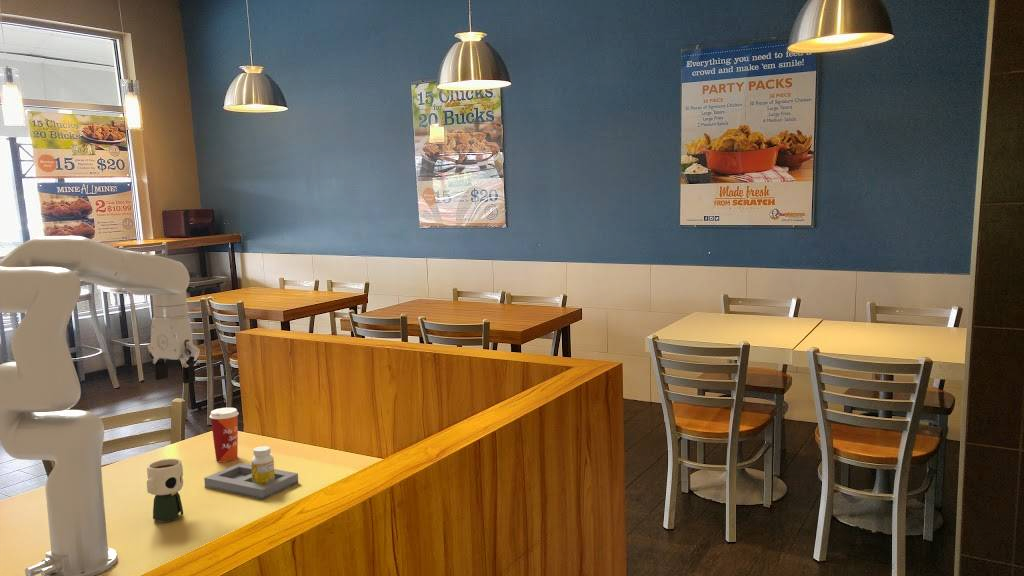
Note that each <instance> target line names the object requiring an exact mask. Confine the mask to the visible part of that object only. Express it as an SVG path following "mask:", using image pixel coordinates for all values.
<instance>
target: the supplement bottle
mask: <svg viewBox="0 0 1024 576" xmlns="http://www.w3.org/2000/svg"><path fill="white" fill-rule="evenodd" d="M271 452H272V451H271V447H270V446H267V445H265V446H264V445H263V446H256V447H254V448H253V457H252V458H251V460H250V463H251V465H252V482H253V483H257V484H262V485H266V484H268V483H270V482H272V481H274V480H275V475H274V469H275V461H274V459H275V457H274V456H273V455H272V454H271Z"/></svg>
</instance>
